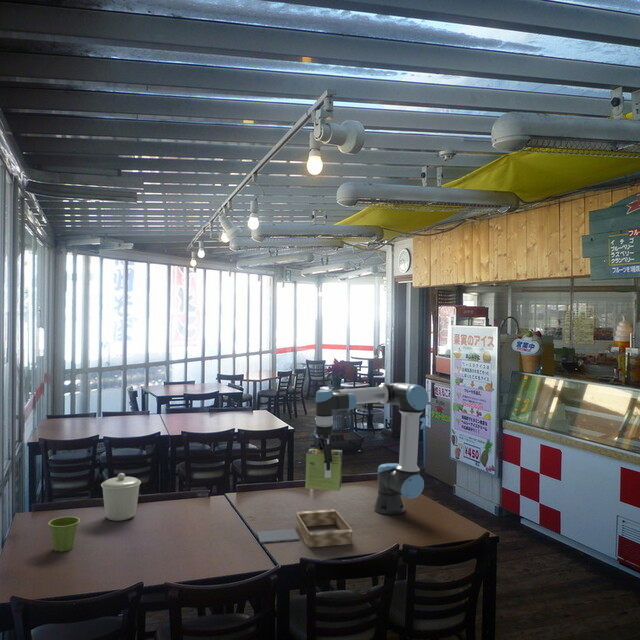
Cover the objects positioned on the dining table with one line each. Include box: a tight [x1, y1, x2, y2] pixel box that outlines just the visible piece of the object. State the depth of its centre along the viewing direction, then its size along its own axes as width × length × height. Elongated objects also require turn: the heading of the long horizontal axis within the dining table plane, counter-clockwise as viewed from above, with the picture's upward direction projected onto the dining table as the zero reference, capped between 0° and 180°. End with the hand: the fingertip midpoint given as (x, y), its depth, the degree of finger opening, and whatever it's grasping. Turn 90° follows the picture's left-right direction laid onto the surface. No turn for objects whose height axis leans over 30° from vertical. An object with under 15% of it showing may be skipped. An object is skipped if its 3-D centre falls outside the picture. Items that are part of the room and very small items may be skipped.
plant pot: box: [48, 516, 81, 553], centre depth 236 cm, size 12×12×11 cm
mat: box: [256, 528, 300, 544], centre depth 252 cm, size 17×12×1 cm
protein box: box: [304, 448, 343, 492], centre depth 255 cm, size 10×15×16 cm
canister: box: [100, 472, 142, 522], centre depth 275 cm, size 18×18×21 cm
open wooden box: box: [295, 508, 353, 548], centre depth 255 cm, size 19×30×6 cm, turn 14°
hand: (323, 473), depth 255 cm, fingers closed on protein box, 12 cm apart
